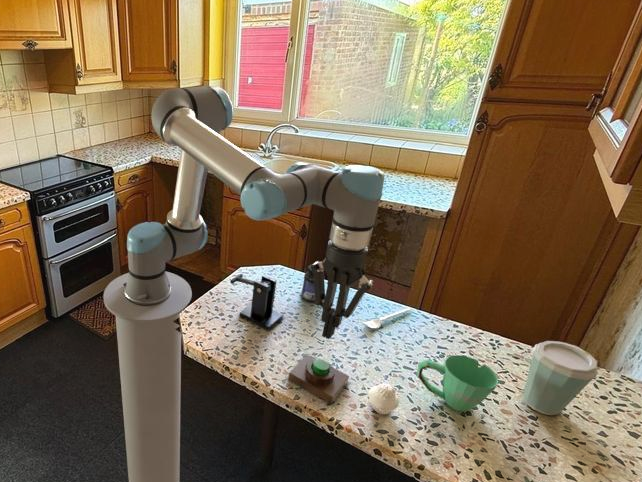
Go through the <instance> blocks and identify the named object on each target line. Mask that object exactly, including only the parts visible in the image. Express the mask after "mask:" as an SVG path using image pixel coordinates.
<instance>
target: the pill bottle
mask: <svg viewBox="0 0 642 482" xmlns="http://www.w3.org/2000/svg"><path fill="white" fill-rule="evenodd" d="M311 265H312V264H309V265H308V267H307V271H306V272H305V273H304V277H303V281H302V287H301V293H300V294H301V295H300V296H301V297H302V299H303V300H305V301H307V302H310V303H315V288H314V274H313V272H312V270H311ZM323 271H324V272H325V269H324V270H323ZM324 280H325V277H324Z"/></svg>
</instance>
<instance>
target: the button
mask: <svg viewBox="0 0 642 482" xmlns="http://www.w3.org/2000/svg"><path fill="white" fill-rule="evenodd" d="M316 359H317V360H315V361H314V362H313V367H312V369H313V371H314V372H315V373H317V374H318V375H326V374H327V373H328V370H329V364H328V363H329V362H328V361H326V360H324V359H321V358H316ZM327 362H328V363H327Z"/></svg>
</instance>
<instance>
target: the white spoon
mask: <svg viewBox="0 0 642 482" xmlns="http://www.w3.org/2000/svg"><path fill="white" fill-rule="evenodd" d="M407 312H411V308H405V309H402V310H400V311H396V312H394V313H391V314H389V315H385V316H383V317H380V318H375V319H374V318H373V319H371V320H368V321H361V323H363V324H364V325H365V326H367V327H368V328H370V329H379V328H381V326H382V323H383V322H385V321H388V320H390V319H393V318H395V317H398V316H400V315H402V314H405V313H407Z"/></svg>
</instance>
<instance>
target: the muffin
mask: <svg viewBox="0 0 642 482" xmlns="http://www.w3.org/2000/svg"><path fill="white" fill-rule="evenodd" d="M368 399H369V403H370V405H371V407H372V409H373V411H374V412H376V413H377V414H379V415H388V414H390V413H391V412H393V411H395V410H396V409H397V408H398V406H399V404H400V399H399V396H398V394H397V393H396V391H395V388H394V387H393V386H392V385H390V384H389V383H384V382H382V383H378V385H374V386H372V387H370V389H369V390H368Z"/></svg>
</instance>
